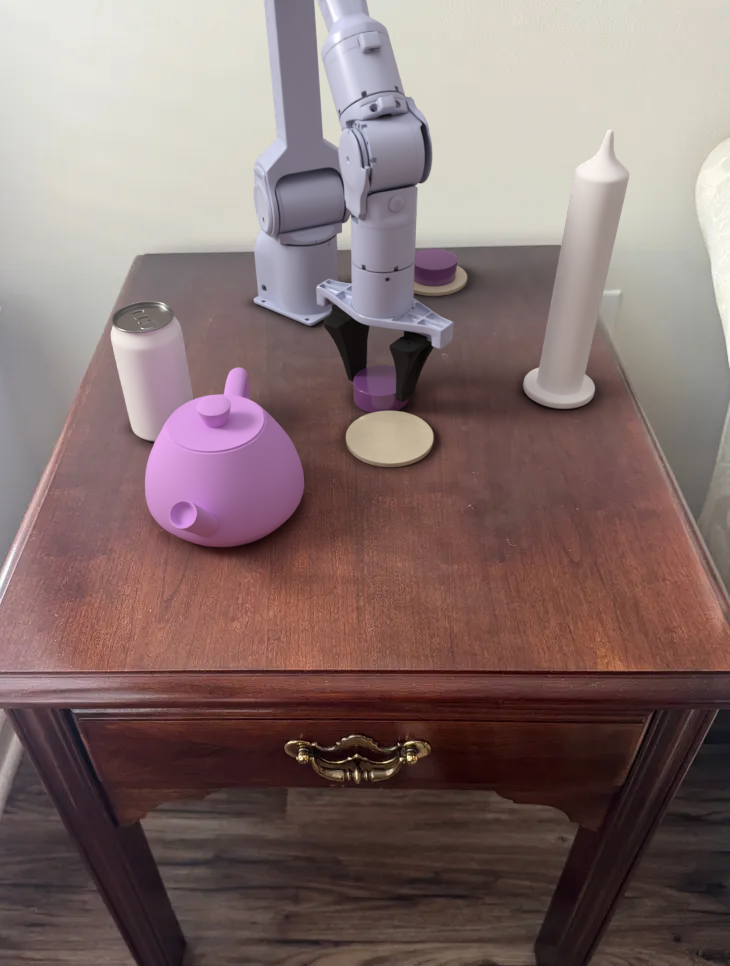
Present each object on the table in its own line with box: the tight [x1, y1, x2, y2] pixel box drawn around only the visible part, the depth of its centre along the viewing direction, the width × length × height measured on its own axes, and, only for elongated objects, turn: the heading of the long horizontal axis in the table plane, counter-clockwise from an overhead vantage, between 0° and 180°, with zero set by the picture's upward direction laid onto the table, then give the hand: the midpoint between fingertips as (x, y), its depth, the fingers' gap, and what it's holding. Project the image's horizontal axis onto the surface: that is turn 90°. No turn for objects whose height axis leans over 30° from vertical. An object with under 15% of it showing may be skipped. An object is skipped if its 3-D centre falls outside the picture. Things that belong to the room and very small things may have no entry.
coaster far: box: [414, 265, 468, 297], centre depth 105 cm, size 8×8×1 cm
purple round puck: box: [414, 248, 458, 286], centre depth 104 cm, size 6×6×2 cm
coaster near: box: [345, 410, 435, 468], centre depth 82 cm, size 8×8×1 cm
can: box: [110, 300, 194, 443], centre depth 81 cm, size 6×6×12 cm
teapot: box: [144, 366, 305, 548], centre depth 72 cm, size 14×20×11 cm
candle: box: [522, 129, 630, 410], centre depth 78 cm, size 7×7×25 cm
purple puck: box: [352, 364, 409, 414], centre depth 86 cm, size 6×6×2 cm
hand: (381, 386), depth 86 cm, fingers closed on purple puck, 5 cm apart
